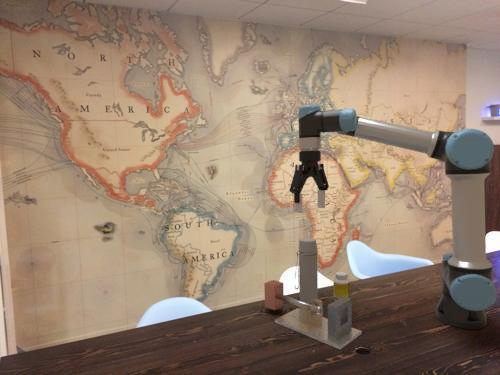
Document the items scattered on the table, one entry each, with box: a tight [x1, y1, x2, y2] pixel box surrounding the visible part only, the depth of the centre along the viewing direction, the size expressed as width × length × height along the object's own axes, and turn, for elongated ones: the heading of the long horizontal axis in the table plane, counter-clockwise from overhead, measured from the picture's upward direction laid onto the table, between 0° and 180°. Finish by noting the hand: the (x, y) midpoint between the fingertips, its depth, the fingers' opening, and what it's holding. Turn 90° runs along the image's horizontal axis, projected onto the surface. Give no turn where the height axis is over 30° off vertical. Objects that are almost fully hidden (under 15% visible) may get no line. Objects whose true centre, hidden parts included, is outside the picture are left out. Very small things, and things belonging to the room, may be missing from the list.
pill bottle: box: [333, 271, 350, 301], centre depth 141 cm, size 6×6×11 cm
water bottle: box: [294, 237, 319, 304], centre depth 140 cm, size 9×8×25 cm
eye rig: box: [274, 296, 363, 350], centre depth 118 cm, size 26×13×12 cm, turn 45°
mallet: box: [264, 279, 324, 315], centre depth 125 cm, size 24×5×9 cm, turn 45°
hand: (310, 210), depth 126 cm, fingers open, 13 cm apart
